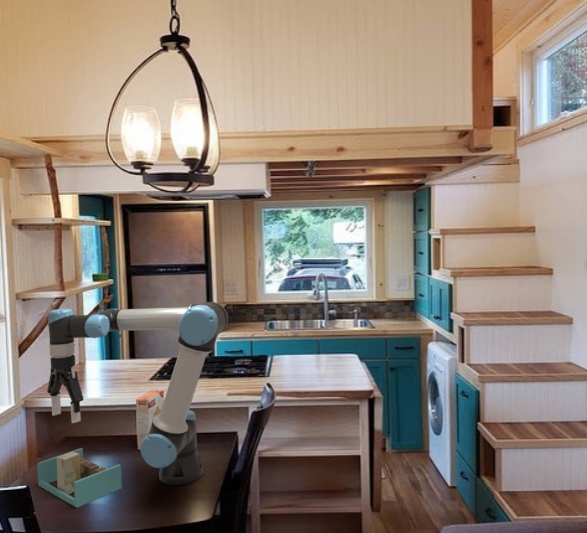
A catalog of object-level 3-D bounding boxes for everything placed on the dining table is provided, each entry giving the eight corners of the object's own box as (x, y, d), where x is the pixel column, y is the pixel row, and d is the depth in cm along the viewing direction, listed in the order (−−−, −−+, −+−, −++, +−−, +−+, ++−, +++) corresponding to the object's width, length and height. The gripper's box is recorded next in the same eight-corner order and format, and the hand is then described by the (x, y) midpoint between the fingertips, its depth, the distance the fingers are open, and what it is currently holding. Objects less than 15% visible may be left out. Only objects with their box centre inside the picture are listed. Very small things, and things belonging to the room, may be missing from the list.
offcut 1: (89, 477, 185) (88, 460, 185) (81, 480, 182) (80, 463, 182) (82, 473, 188) (81, 457, 188) (74, 476, 186) (73, 460, 185)
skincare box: (65, 496, 171) (63, 460, 170) (57, 493, 173) (55, 457, 172) (82, 488, 176) (80, 453, 176) (74, 485, 178) (72, 450, 178)
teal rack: (121, 488, 175) (120, 465, 175) (76, 507, 163) (75, 482, 163) (82, 469, 192) (81, 448, 191) (38, 485, 179) (37, 463, 179)
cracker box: (151, 451, 207) (148, 399, 206) (137, 450, 208) (134, 399, 207) (166, 438, 220) (164, 389, 220) (153, 437, 222) (151, 389, 221)
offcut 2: (110, 487, 176) (109, 470, 176) (102, 491, 174) (101, 473, 173) (102, 484, 179) (102, 467, 179) (94, 487, 177) (93, 470, 176)
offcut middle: (99, 482, 180) (98, 465, 180) (91, 485, 178) (90, 468, 178) (92, 478, 183) (91, 462, 183) (84, 481, 181) (83, 465, 181)
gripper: (92, 357, 168) (95, 421, 169) (56, 349, 184) (59, 408, 185) (70, 362, 162) (73, 428, 163) (34, 353, 178) (38, 414, 179)
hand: (66, 418), depth 174 cm, fingers open, 13 cm apart
